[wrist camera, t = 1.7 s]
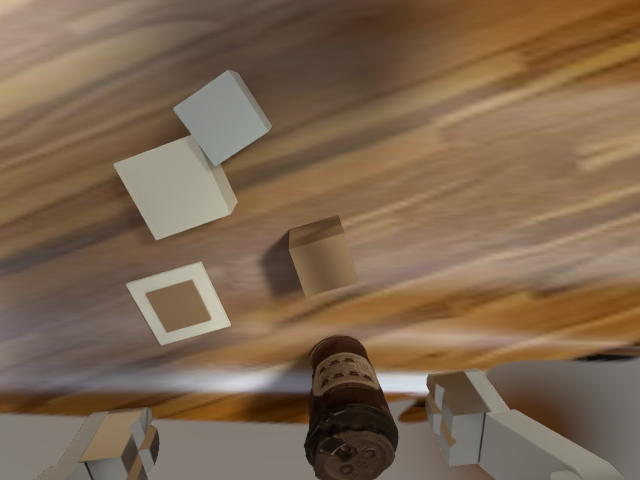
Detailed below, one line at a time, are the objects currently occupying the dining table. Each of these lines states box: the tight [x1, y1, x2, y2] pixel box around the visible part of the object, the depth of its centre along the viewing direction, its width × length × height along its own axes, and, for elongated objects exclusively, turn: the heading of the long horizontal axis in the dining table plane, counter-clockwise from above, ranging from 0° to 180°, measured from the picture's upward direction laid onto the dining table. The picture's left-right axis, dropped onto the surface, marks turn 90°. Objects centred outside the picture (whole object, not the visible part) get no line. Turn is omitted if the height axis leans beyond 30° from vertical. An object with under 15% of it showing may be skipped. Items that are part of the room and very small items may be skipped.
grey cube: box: [173, 69, 272, 166], centre depth 29 cm, size 5×5×5 cm
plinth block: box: [113, 135, 237, 240], centre depth 32 cm, size 7×7×4 cm
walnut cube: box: [289, 215, 358, 297], centre depth 34 cm, size 5×5×5 cm
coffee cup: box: [304, 336, 398, 480], centre depth 36 cm, size 9×8×13 cm
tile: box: [126, 261, 231, 346], centre depth 38 cm, size 8×8×1 cm
